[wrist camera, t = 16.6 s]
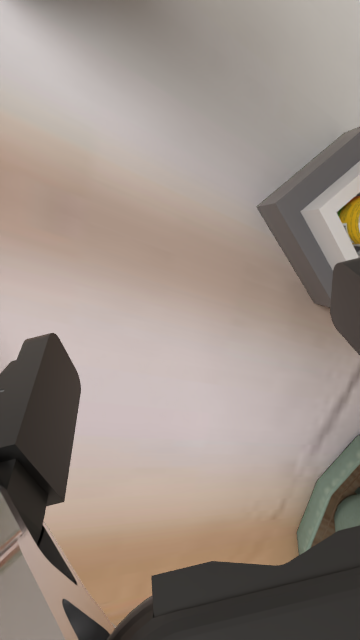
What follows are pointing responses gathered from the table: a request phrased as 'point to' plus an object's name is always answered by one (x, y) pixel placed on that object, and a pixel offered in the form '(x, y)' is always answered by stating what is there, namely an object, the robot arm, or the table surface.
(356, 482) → the tea set
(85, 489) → the table surface
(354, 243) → the supplement bottle
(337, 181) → the square bottle holder
